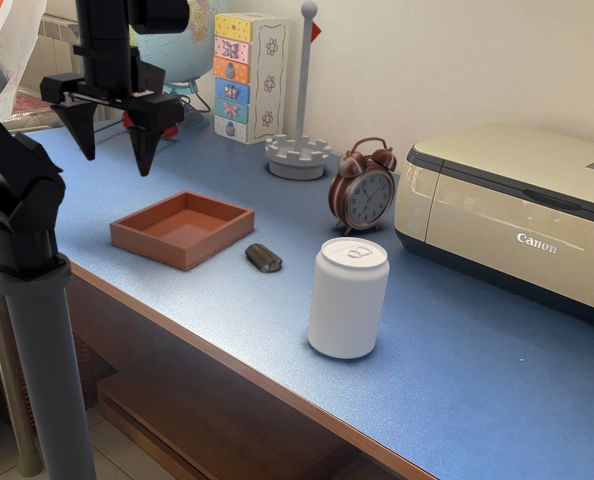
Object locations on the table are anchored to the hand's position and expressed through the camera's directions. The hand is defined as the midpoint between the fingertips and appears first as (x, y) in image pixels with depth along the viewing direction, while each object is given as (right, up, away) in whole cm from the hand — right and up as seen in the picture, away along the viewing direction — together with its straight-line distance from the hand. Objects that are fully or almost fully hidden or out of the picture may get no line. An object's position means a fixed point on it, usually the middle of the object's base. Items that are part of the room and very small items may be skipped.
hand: (117, 167), depth 78 cm
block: (+19, -12, +7) cm, 23 cm away
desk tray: (+7, -7, +12) cm, 16 cm away
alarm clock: (+34, -4, +20) cm, 39 cm away
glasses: (-11, +19, +46) cm, 51 cm away
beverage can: (+29, -23, -8) cm, 38 cm away
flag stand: (+24, +12, +42) cm, 50 cm away
